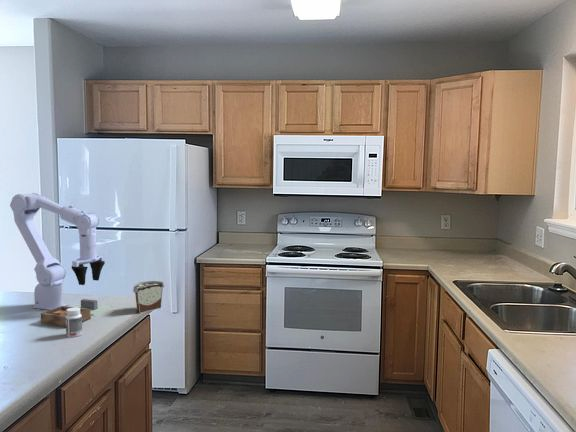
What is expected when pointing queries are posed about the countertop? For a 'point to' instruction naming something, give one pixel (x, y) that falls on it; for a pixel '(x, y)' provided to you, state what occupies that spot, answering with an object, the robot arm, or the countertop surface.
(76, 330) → the pill bottle
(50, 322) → the crate
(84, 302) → the lid
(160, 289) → the food container
